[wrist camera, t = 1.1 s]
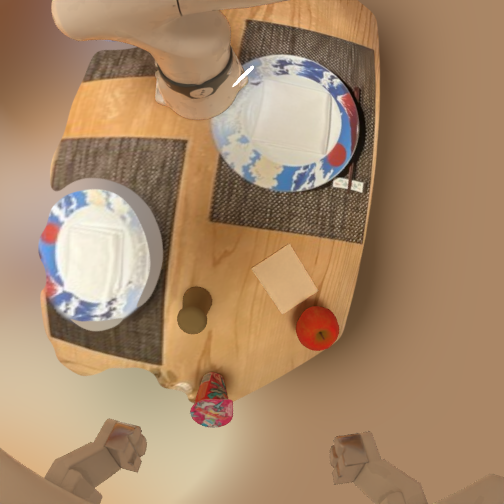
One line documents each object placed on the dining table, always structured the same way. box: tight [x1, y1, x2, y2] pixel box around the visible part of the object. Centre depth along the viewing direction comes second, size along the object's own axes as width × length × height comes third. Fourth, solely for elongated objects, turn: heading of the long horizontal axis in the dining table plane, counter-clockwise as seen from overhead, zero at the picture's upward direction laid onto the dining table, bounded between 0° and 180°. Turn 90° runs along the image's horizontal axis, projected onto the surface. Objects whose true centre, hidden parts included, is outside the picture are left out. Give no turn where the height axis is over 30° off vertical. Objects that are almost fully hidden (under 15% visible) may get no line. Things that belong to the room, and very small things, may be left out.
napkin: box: [251, 244, 318, 314], centre depth 55 cm, size 12×9×1 cm
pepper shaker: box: [177, 287, 212, 334], centre depth 49 cm, size 6×6×11 cm
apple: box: [296, 306, 339, 351], centre depth 52 cm, size 9×8×11 cm
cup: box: [190, 372, 233, 428], centre depth 53 cm, size 9×8×12 cm
